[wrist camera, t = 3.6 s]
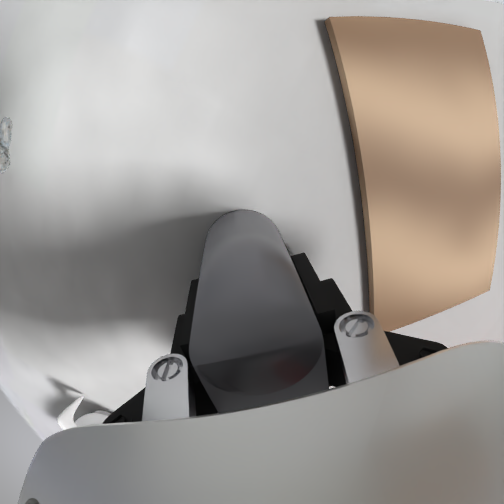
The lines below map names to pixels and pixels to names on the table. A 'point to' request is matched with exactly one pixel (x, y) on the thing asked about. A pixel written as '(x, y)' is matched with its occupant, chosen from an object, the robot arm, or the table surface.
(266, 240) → the connector
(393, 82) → the wood pad
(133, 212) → the table surface
